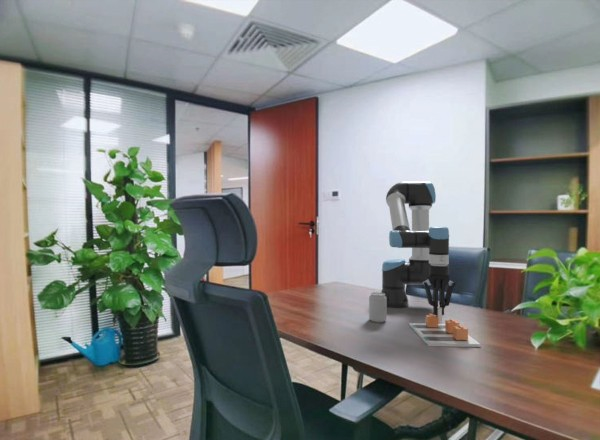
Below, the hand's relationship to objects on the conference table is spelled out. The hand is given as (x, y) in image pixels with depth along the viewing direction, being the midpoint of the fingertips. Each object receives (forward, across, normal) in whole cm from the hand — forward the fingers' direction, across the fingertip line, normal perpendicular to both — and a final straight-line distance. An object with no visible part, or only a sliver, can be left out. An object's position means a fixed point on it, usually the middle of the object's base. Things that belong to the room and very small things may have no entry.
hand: (438, 322), depth 136 cm
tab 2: (+1, +3, -7) cm, 8 cm away
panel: (+3, -2, -7) cm, 8 cm away
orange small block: (+1, -3, 0) cm, 3 cm away
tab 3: (+1, +2, -14) cm, 14 cm away
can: (+3, -22, +11) cm, 25 cm away
